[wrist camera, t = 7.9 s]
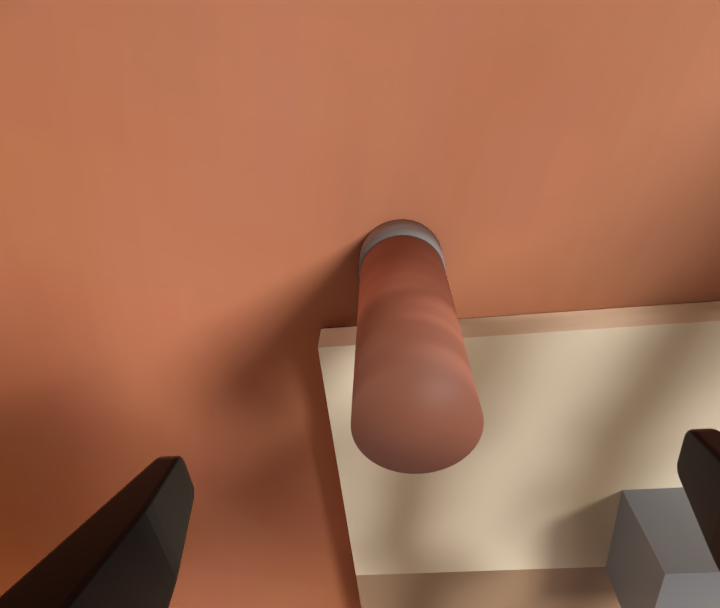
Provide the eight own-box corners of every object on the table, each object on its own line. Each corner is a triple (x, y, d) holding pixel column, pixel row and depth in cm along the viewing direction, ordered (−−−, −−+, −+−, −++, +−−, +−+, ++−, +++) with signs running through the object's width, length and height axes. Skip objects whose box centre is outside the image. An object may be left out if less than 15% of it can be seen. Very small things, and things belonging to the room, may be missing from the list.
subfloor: (987, 282, 17) (1027, 300, 16) (797, 628, 27) (814, 653, 26) (321, 328, 19) (317, 347, 18) (370, 639, 28) (370, 663, 27)
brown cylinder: (440, 216, 16) (487, 366, 9) (442, 291, 18) (485, 472, 11) (355, 223, 17) (340, 376, 10) (363, 297, 18) (355, 478, 11)
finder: (782, 483, 20) (863, 576, 17) (748, 564, 22) (812, 659, 19) (622, 489, 20) (669, 582, 17) (605, 568, 23) (644, 663, 20)
